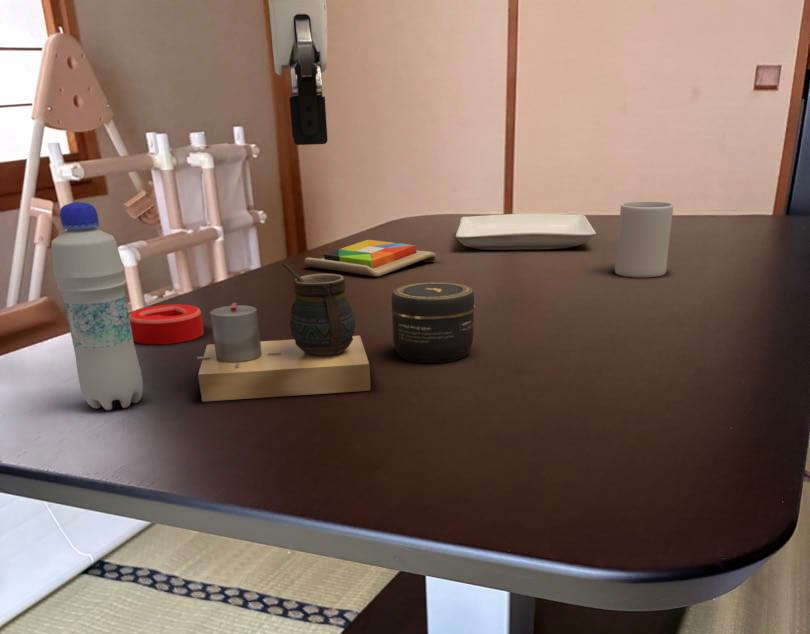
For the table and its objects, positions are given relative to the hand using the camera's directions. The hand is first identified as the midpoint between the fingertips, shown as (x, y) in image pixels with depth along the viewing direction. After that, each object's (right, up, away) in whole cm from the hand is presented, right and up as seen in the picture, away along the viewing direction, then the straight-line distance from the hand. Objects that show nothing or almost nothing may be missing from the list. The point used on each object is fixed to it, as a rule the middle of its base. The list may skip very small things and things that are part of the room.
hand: (309, 141), depth 84 cm
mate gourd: (0, -19, +10) cm, 22 cm away
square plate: (+35, +23, +92) cm, 101 cm away
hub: (-9, -20, +9) cm, 23 cm away
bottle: (-21, -26, +5) cm, 34 cm away
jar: (+13, -17, +19) cm, 29 cm away
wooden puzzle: (+3, +11, +72) cm, 73 cm away
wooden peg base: (-4, -22, +11) cm, 25 cm away
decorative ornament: (-23, -12, +30) cm, 40 cm away
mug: (+50, +6, +61) cm, 79 cm away
